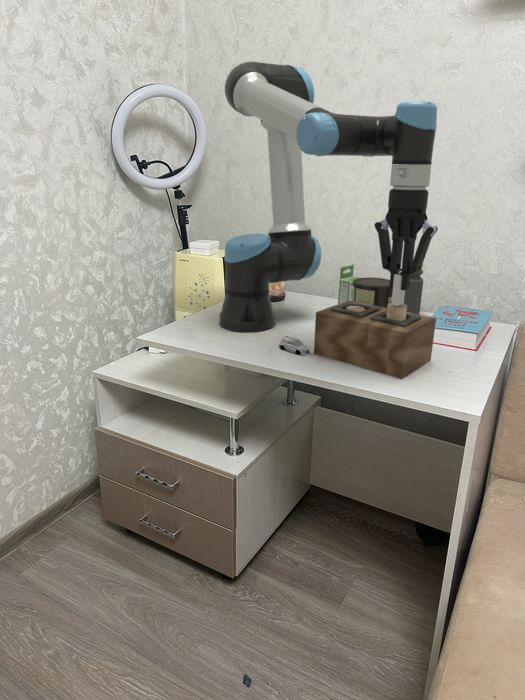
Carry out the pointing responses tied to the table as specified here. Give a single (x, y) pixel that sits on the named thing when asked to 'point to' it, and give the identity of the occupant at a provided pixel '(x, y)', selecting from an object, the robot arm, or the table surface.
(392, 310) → the dowel
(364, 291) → the coffee can
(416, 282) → the bottle
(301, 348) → the toy car
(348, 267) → the ink box
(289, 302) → the table surface
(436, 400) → the table surface
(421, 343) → the socket block
